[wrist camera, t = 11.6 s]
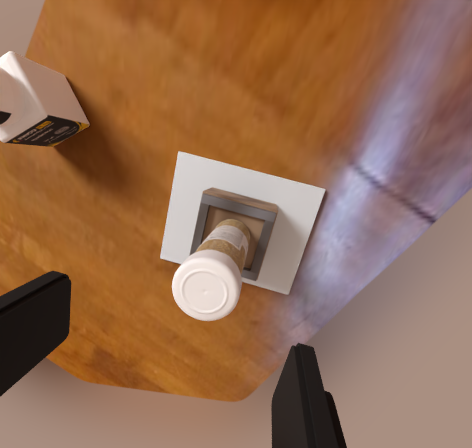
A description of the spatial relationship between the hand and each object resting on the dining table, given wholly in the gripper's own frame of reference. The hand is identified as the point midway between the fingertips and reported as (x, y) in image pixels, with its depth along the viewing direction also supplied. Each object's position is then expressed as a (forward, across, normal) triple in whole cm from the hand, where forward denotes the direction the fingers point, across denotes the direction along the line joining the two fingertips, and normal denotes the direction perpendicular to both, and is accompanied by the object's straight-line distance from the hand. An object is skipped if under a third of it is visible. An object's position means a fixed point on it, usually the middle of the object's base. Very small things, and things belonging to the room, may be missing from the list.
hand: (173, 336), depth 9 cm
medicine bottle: (+25, +28, -7) cm, 38 cm away
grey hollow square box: (+25, 0, +2) cm, 25 cm away
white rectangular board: (+25, 0, +2) cm, 25 cm away
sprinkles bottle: (+19, 0, +2) cm, 19 cm away
